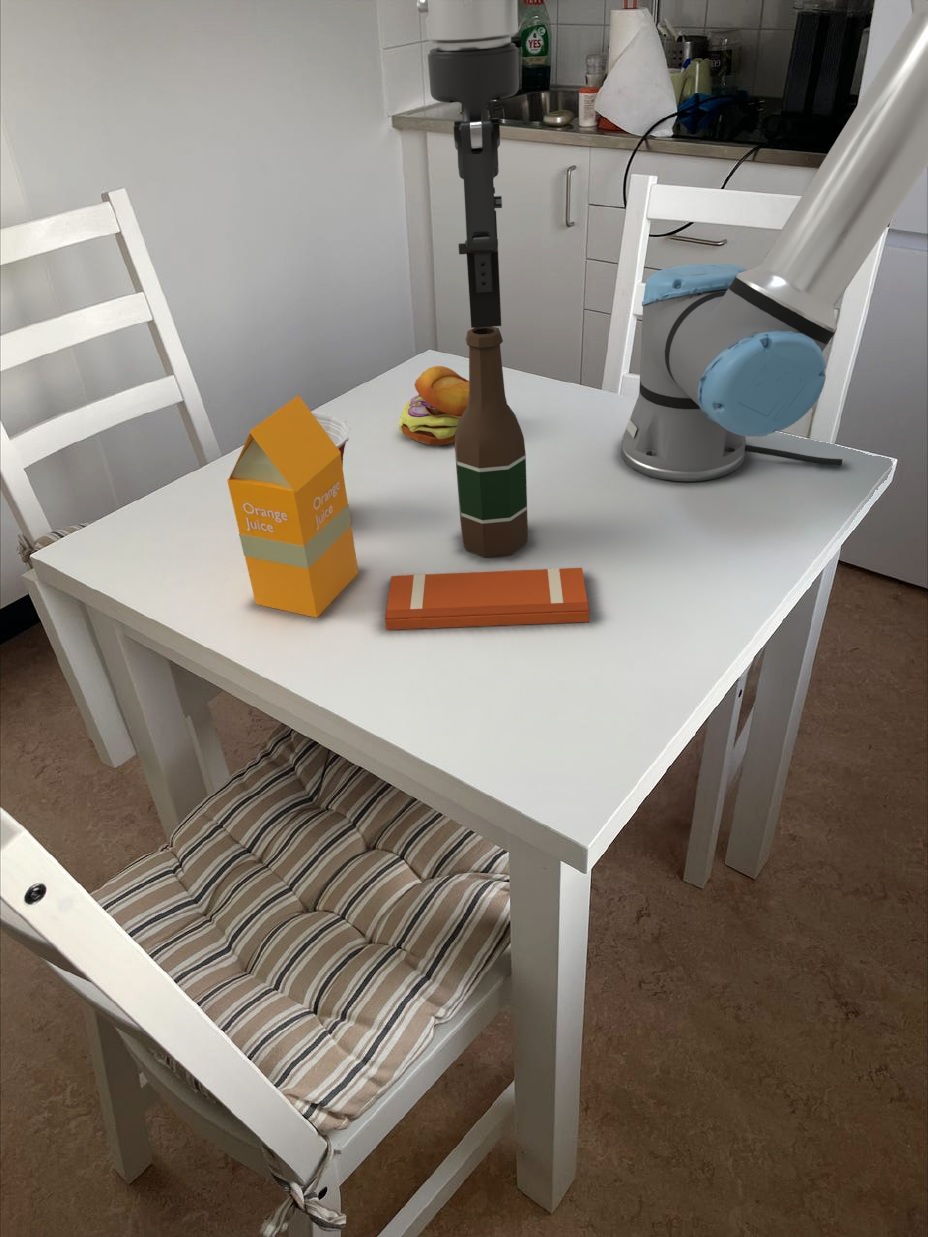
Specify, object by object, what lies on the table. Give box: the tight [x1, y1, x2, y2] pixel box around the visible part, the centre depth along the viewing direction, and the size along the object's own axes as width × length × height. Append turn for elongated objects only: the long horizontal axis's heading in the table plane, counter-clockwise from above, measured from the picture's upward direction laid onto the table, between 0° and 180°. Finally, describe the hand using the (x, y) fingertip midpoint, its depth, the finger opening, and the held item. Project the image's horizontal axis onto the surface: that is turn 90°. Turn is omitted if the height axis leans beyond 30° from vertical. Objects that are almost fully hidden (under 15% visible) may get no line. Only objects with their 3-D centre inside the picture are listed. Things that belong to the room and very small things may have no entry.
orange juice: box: [226, 395, 359, 618], centre depth 95 cm, size 8×9×20 cm
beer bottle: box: [454, 326, 529, 559], centre depth 99 cm, size 8×8×24 cm
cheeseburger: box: [398, 365, 469, 446], centre depth 128 cm, size 10×11×10 cm
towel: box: [384, 567, 590, 631], centre depth 96 cm, size 20×8×1 cm, turn 89°
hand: (486, 301), depth 91 cm, fingers open, 13 cm apart
